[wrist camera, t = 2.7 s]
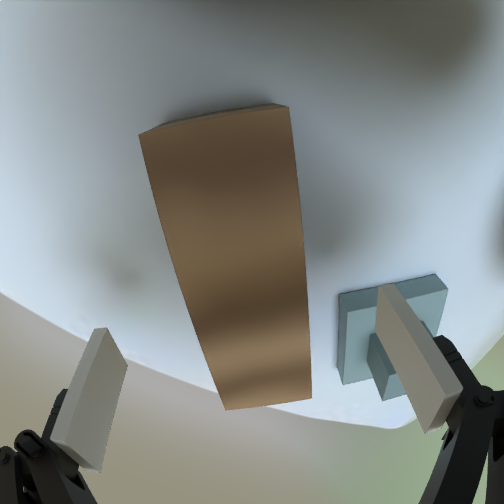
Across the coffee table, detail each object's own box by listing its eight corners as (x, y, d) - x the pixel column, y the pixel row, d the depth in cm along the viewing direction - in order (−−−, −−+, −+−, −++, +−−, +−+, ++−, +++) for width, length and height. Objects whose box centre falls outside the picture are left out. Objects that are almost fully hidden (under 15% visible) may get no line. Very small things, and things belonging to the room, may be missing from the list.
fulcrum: (339, 294, 22) (366, 356, 16) (435, 274, 21) (476, 323, 16) (337, 367, 25) (354, 424, 20) (419, 346, 25) (446, 395, 20)
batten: (164, 123, 16) (138, 135, 12) (273, 103, 16) (288, 106, 11) (225, 359, 24) (225, 410, 20) (300, 348, 24) (311, 398, 20)
